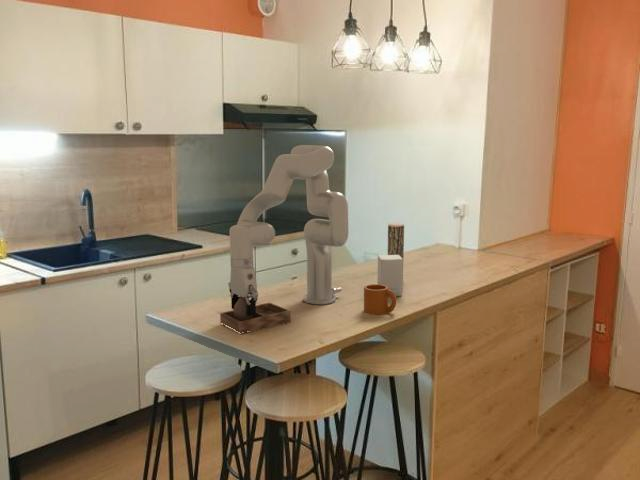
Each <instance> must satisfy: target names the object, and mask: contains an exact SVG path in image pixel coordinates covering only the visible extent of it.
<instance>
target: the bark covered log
mask: <svg viewBox="0 0 640 480" xmlns="http://www.w3.org/2000/svg"><path fill="white" fill-rule="evenodd" d="M404 245H405V224H404V223H401V222H390V223H388V224H387V255H399V256H400V257H401V258H402V259H403V260H404V255H405V254H404V253H405V252H404V250H405V249H404Z"/></svg>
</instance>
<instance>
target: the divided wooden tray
mask: <svg viewBox="0 0 640 480" xmlns="http://www.w3.org/2000/svg"><path fill="white" fill-rule="evenodd" d="M291 315H292V313H291V310H289V309H287V308H284V307H281V306H279V305H277V304H275V303H272V302H265V303H260V304H257V305H256V315H254V316H253V319H249V320H245V321H239V320H237V319H235V318H234V314H233V309H231V310H229V311H223V312H220V314H219V316H220V318H219V319H220V322H219V323H220V324H221V323H223V324H225V325H227V326H229V327H231V328H233V329H235V330H236V331H238V332H240V333H242V332H247V331H253V330H257V331H259V330H258V329H261V330H263V329H262V328H265V329H268V328H267V327H269V328H272V327H271V326H273V327H276V326H275V325H277V326H279V324H281V325H284V324H283V323H285V324H288V323H287V322H289V323H291V322H292V320H291ZM253 332H254V331H253Z"/></svg>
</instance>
